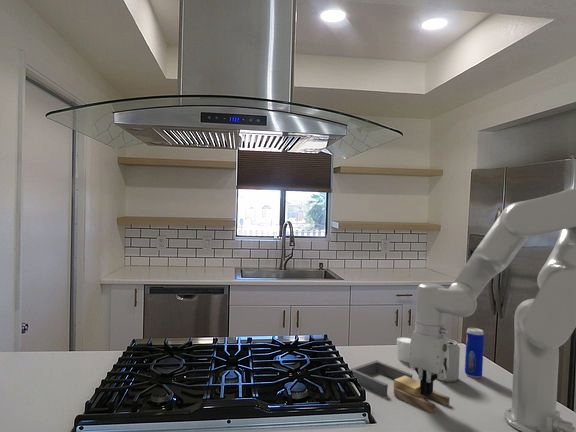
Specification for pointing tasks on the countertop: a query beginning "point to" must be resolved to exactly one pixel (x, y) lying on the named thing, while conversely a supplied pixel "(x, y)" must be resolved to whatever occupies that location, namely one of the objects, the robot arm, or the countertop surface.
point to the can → (453, 361)
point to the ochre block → (408, 385)
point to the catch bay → (375, 384)
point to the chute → (421, 402)
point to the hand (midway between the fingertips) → (426, 394)
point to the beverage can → (474, 352)
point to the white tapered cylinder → (403, 348)
